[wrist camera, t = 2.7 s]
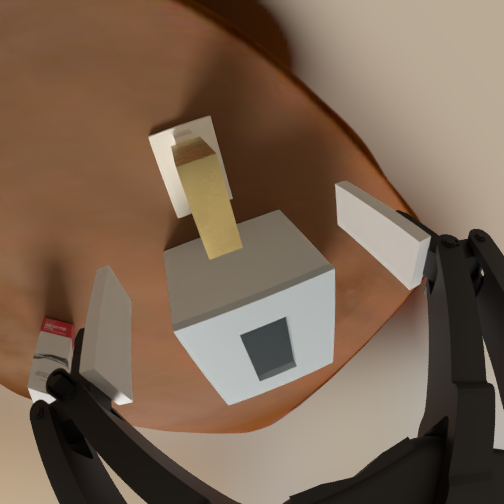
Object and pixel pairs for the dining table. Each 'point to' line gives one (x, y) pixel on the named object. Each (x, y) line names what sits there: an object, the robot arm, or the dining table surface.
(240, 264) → the box
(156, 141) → the token stand
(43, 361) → the ink box
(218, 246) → the block
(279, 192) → the dining table surface
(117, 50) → the dining table surface
